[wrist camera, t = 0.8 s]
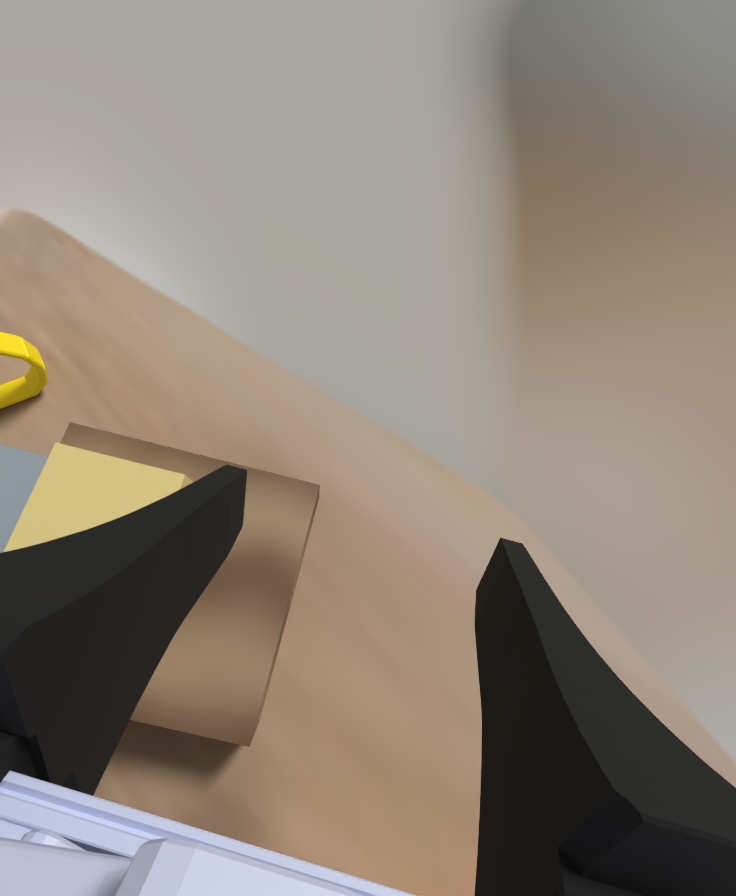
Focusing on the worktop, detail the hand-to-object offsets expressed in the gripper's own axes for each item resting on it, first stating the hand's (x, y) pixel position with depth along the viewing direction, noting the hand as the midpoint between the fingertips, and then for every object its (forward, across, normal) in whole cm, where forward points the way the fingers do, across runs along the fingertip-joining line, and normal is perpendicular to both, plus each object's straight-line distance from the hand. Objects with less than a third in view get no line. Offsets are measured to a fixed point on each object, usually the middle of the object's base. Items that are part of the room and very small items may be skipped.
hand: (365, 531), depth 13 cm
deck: (+6, +10, +12) cm, 17 cm away
